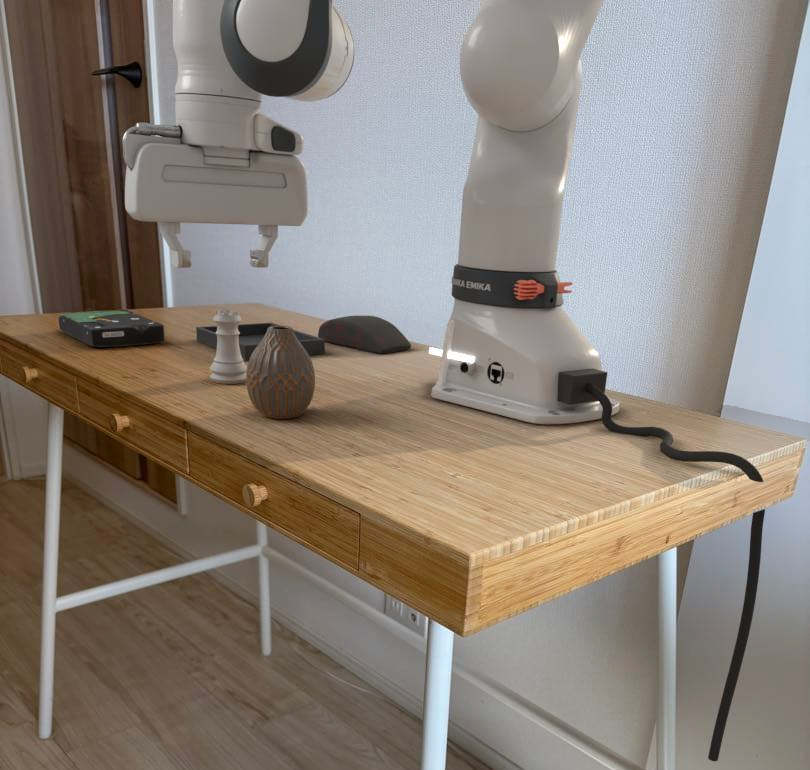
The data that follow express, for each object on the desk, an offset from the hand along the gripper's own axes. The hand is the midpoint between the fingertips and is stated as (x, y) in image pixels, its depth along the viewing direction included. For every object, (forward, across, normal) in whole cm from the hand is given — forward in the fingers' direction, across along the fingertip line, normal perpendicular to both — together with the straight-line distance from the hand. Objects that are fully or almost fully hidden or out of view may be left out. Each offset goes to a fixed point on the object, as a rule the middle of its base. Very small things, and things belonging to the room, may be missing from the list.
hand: (221, 267), depth 93 cm
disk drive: (+14, -2, +31) cm, 34 cm away
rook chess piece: (+13, 0, 0) cm, 13 cm away
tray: (+13, +14, +16) cm, 25 cm away
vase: (+13, -2, -16) cm, 21 cm away
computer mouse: (+13, +28, +12) cm, 34 cm away
